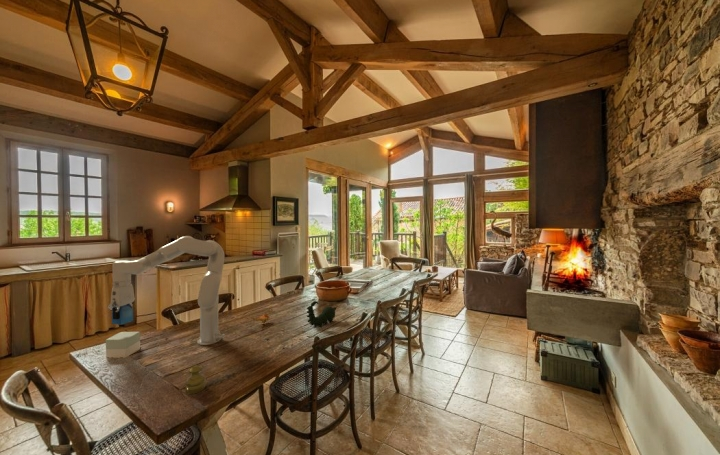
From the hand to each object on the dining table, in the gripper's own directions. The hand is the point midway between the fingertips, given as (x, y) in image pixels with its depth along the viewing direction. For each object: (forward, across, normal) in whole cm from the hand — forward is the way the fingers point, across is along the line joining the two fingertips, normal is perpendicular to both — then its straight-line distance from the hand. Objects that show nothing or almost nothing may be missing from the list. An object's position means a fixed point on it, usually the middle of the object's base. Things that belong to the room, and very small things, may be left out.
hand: (122, 316), depth 150 cm
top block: (+15, 0, 0) cm, 15 cm away
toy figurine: (+20, +44, -102) cm, 113 cm away
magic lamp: (+20, +43, -60) cm, 77 cm away
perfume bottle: (+4, 0, 0) cm, 4 cm away
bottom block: (+20, 0, 0) cm, 20 cm away
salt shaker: (+20, -31, -58) cm, 69 cm away
